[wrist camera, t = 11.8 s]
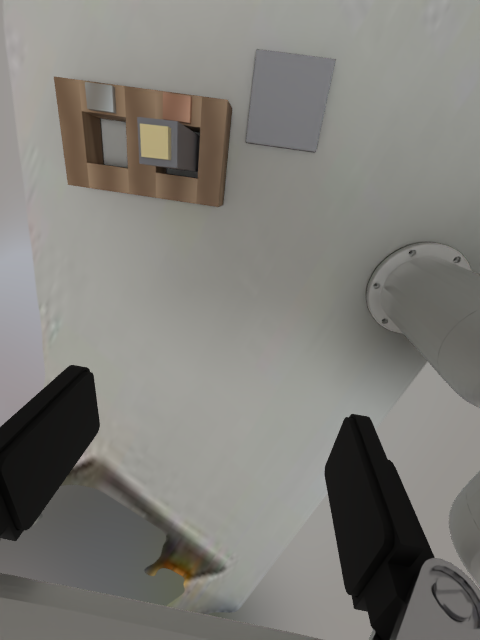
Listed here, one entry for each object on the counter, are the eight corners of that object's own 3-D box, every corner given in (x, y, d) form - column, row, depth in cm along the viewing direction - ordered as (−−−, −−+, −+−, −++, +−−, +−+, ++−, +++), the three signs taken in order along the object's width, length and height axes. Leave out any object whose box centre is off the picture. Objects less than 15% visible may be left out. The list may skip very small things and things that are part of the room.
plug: (203, 138, 33) (174, 119, 23) (202, 172, 34) (174, 167, 24) (174, 135, 33) (133, 114, 23) (174, 169, 34) (135, 163, 25)
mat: (334, 61, 28) (335, 59, 28) (315, 152, 32) (315, 151, 31) (257, 51, 29) (256, 49, 28) (246, 142, 32) (245, 141, 32)
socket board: (232, 108, 31) (226, 98, 27) (223, 204, 35) (217, 207, 32) (75, 87, 32) (49, 74, 28) (85, 184, 36) (64, 184, 32)
